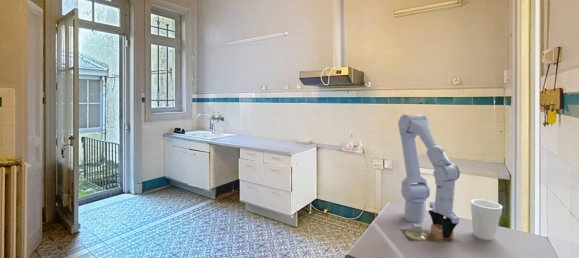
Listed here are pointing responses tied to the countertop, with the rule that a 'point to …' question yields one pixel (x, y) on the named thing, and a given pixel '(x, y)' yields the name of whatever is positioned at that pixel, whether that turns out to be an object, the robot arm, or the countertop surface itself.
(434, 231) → the collar
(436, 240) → the jig board
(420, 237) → the hub
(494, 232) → the foam cup
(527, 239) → the countertop surface
